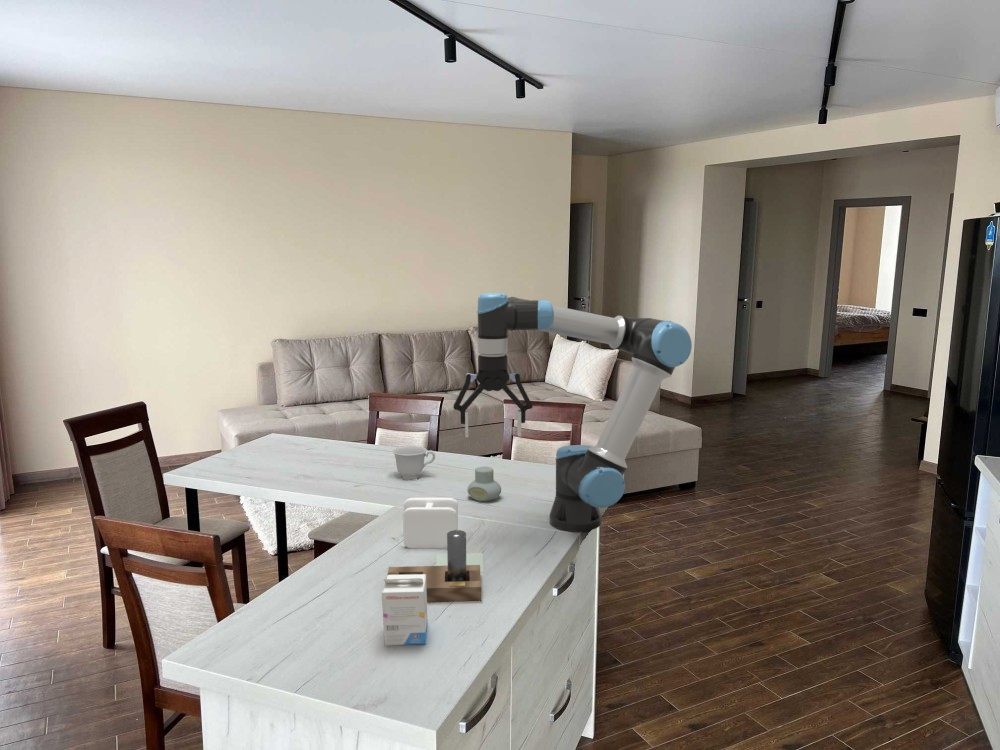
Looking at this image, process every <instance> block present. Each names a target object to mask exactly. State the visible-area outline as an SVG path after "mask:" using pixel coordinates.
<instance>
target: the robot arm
mask: <svg viewBox="0 0 1000 750" xmlns="http://www.w3.org/2000/svg"><path fill="white" fill-rule="evenodd" d="M476 312H477V313H476V314H477V333H478V334H477V353H478V354H480V355H478V356H477V374H476V373H475V374H474V373H470V372H467V373H466V374H465V380H464V383H463V385H462V387H461V390H460V391H459V393H458V395H457V398H456V400H455V401H454V403H453V406H452V407H453V410H456V411H459V412H460V424H461V425H464V429H465V431H464V435H465V438H469V410H467V409H468V408H470V406H471V404H472V403H473V402H474V401H475V400H476V399H477V398H478V397H479V395H480V394H481V393H482V392H483V391H486V392H492V391H494V392H495V391H496V392H499V391H501V390H502V391H504V393H505V394H507V396H508V397H509V398H510V399H511V400H512V401H513V403H514V404H515V405H516V406H517V407H518V408H519V409H517V415H516V417H517V419H516V420H517V424H516V425H517V426H516V428H517V436H518V437H519V438H520V437H522V424H525V423H526V413H527V410H530V409H533V404H532V402H531V400H530V398H529V396H528V394H527V391H525V388H524V386H523V384H522V382H521V376H520V375H521V374H520V373H519V372H518V371H516V372H514V373H509V371H508V368H509V367H508V355H507V353H508V349H509V348H508V342H509V341H508V334H509V333H508V331H510V332H511V331H536V330H537V331H539V332H545V333H550V334H556V335H561V336H567V337H571V338H576V339H582V340H586V341H590V342H596V343H602V344H607V345H609V347H610V348H611V349H613V350H618V351H622V352H625V353H629V354H631V355H632V357H631V361H632V365H633V368H632V370H631V372H630V374H629V375H628V378H627V380H626V382H625V385H623V388H622V391H621V393H620V395H619V396H618V399H617V401H616V403H615V405H614V407H613V409H612V411H611V413H610V415H609V418H608V420H607V422H606V423H605V426H604V428H603V431H602V432H601V434H600V436H599V438H598V440H597V442H596V444H595V445H590V444H589V445H587V444H575V445H572V444H571V445H564V446H560V447H558V449H557V450H556V452H555V459H554V460H555V498H554V500H553V503H552V506H551V509H550V512H549V523H550V524H549V525H550V526H553V527H555V528H556V529H559V530H561V531H567V532H587V531H592V530H595V529H597V528H600V527H601V525H602V515H601V511H600V509H606V508H608V507H611V506H613V505H615V504H616V503H618V501H620V500H621V498H622V497H623V495H624V493H625V489H626V483H625V478H624V475H625V473H626V471H627V469H628V464H627V461H626V457H627V455H628V454H629V451H630V449H631V448H632V445H633V443H634V441H635V439H636V437H637V434H638V432H639V430H640V428H641V426H642V423H643V422H644V421H645V418H646V415H647V413H648V412H649V409H650V407H651V406H652V403H653V401H654V399H655V397H656V395H657V393H658V391H659V389H660V386H661V385H662V382H663V381H664V380H666V379H668V378H671V377H672V374H673V372H674V371H675V369H676V368H677V367H679V366H681V365H683V364H684V363H685V362H687V361H688V359H689V358H690V355H691V353H692V348H693V347H692V345H693V344H692V342H693V341H692V339H691V336H690V333H689V332H688V330H687V329H686V327H684V326H682V325H681V324H679V323H677V322H674V321H671V320H661V319H656V318H652V317H651V318H650V317H628V316H625V315H616V316H615V317H610V316H607V315H601V314H597V313H591V312H587V311H581V310H578V309H573V308H567V307H562V306H557V305H553V304H552V303H551V301H549V300H542V299H538V300H535V299H533V300H529V299H524V298H518V297H515V296H508V295H507V293H503V292H496V293H495V292H489V293H487V292H486V293H482V294H480V295H479V296H478V299H477V311H476ZM510 379H511V381H512V382H514V383H515V385H516V386H517V388H518V390H519V392H520V394H521V396H522V398H523V400H524V402H525V404H523V402H522V401H521V400H520V399H519V398H518V397H517V396H516V394H515V393H514V392H513V391H512V390H511V389H510V388H509V386H508V385H507V383H508V382H509V380H510ZM475 380H476V381H477V382H478V383H479V385H477V387H476V388H474V390H473V392H472V393H471V394H470V395H469V397H468V398H467V399H466V400H465V401H464V402H463V403H462V401H463V400H464V397H465V395H466V394H467V391H468V389H469V387H470V385H471V383H473V382H474V381H475ZM461 403H462V405H461Z"/></svg>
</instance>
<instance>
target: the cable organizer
mask: <svg viewBox="0 0 1000 750" xmlns="http://www.w3.org/2000/svg"><path fill="white" fill-rule="evenodd" d="M458 504H459V503H458V501H457V500H456V499H455V498H453V497H410V498H407V499H406V500H405V501H404V503H403V514H402V521H403V522H402V525H403V526H402V527H403V544H404V546H405V547H406V548H408V549H447V533H448V532H450V531H453V530H459V509H458V507H459V505H458Z"/></svg>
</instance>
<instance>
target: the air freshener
mask: <svg viewBox="0 0 1000 750" xmlns="http://www.w3.org/2000/svg"><path fill="white" fill-rule="evenodd" d="M474 474H475V475H474V480H473V481H472V482H471V483H469V484H468V486H467V490H466V491H467V493H468V496H469V497H471V498H472V499H474V500H475V501H477V502H489V501H490V502H491V501H493V500H495V499H497V498H498V497H499V496H500V494H501V493H502V486H501V485H500V483H499V482H497V481H496V480H494V468H493V467H491V466H478V467H476V468H475V472H474Z"/></svg>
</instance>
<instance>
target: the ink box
mask: <svg viewBox="0 0 1000 750" xmlns="http://www.w3.org/2000/svg"><path fill="white" fill-rule="evenodd" d="M383 581H384V585H383V588H382V592H381V602H382V620H383V622H382V623H383V645H384V646H407V645H411V646H412V645H426V644H427V636H428V627H429V626H428V623H429V622H428V620H429V619H428V603H427V589H426V574H413V575H387V574H386V578H385V579H383Z"/></svg>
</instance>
